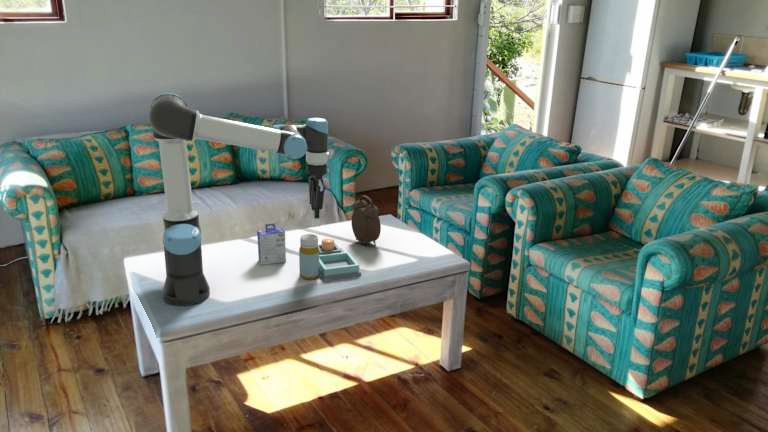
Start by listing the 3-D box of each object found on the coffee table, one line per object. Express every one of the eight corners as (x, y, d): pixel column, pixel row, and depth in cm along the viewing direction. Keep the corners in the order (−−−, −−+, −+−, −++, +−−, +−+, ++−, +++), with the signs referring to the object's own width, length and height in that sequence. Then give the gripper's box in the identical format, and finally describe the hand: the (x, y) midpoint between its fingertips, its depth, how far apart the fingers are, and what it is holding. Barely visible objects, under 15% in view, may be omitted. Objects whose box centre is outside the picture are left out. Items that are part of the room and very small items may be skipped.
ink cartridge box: (283, 256, 255) (282, 221, 251) (286, 262, 251) (286, 226, 246) (257, 260, 252) (256, 224, 247) (260, 265, 247) (259, 229, 242)
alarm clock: (383, 247, 267) (384, 200, 260) (367, 250, 263) (368, 202, 257) (364, 235, 279) (365, 190, 272) (349, 238, 275) (350, 192, 268)
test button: (323, 256, 252) (323, 243, 250) (320, 251, 256) (320, 239, 255) (335, 254, 254) (335, 242, 252) (332, 250, 258) (332, 238, 256)
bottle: (323, 275, 241) (323, 236, 236) (311, 281, 235) (310, 242, 230) (307, 270, 244) (307, 232, 239) (295, 276, 239) (295, 238, 234)
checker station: (324, 280, 237) (323, 269, 235) (307, 254, 258) (306, 244, 256) (361, 275, 241) (361, 264, 240) (341, 250, 263) (341, 241, 261)
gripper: (332, 166, 229) (331, 230, 237) (321, 157, 240) (320, 218, 248) (311, 168, 226) (310, 232, 234) (301, 158, 238) (300, 220, 245)
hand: (315, 225), depth 241 cm, fingers closed
